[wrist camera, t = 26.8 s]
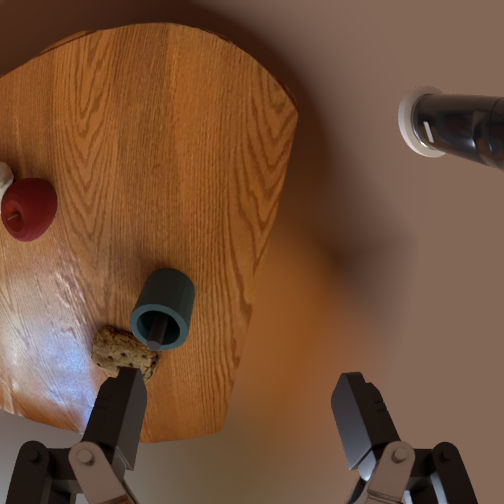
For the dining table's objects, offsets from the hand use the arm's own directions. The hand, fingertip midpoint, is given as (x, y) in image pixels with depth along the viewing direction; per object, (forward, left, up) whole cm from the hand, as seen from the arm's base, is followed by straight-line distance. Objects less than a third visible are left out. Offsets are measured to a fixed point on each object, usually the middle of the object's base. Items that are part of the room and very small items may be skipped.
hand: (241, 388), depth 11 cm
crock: (+10, +18, -34) cm, 40 cm away
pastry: (+21, +35, -34) cm, 53 cm away
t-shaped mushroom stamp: (+10, +18, -33) cm, 39 cm away
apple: (+32, +2, -34) cm, 47 cm away
